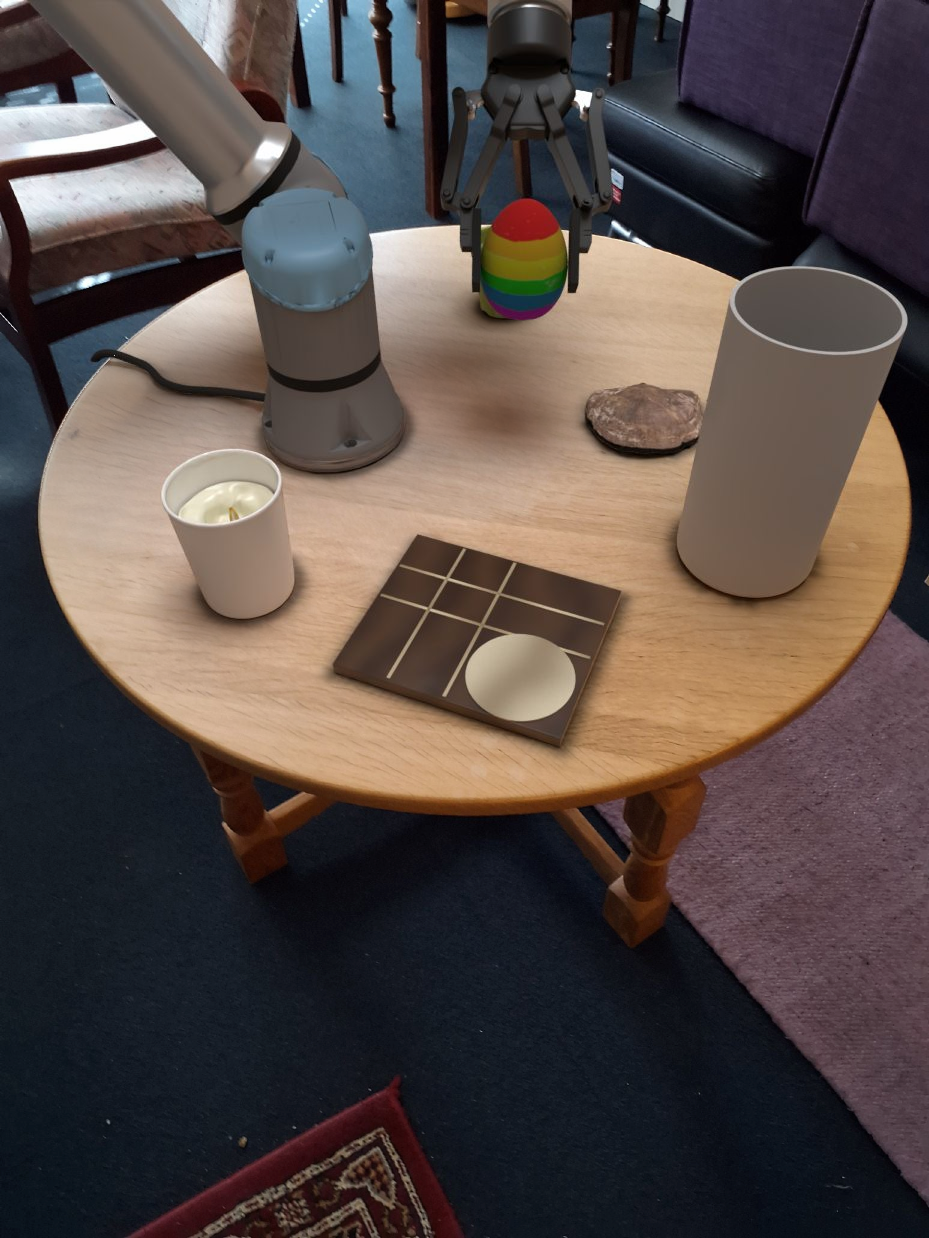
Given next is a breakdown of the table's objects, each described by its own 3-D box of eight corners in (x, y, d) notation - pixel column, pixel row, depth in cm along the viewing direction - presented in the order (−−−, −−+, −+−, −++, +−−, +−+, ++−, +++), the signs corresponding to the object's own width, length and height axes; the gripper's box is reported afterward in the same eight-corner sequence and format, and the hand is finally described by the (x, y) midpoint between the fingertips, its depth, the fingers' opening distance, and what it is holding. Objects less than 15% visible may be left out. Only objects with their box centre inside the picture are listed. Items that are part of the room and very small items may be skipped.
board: (334, 672, 75) (332, 662, 74) (418, 543, 86) (417, 532, 85) (559, 747, 70) (560, 737, 69) (620, 599, 80) (622, 589, 79)
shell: (707, 461, 93) (714, 433, 90) (585, 456, 94) (588, 428, 91) (698, 397, 101) (704, 369, 98) (585, 392, 102) (588, 365, 99)
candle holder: (318, 557, 85) (298, 456, 76) (280, 634, 78) (254, 533, 69) (221, 542, 86) (191, 441, 77) (177, 616, 80) (139, 515, 71)
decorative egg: (573, 324, 84) (583, 217, 76) (488, 332, 83) (490, 225, 75) (553, 281, 89) (560, 178, 82) (472, 289, 88) (472, 185, 81)
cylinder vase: (662, 582, 82) (716, 336, 63) (688, 497, 89) (743, 256, 71) (803, 616, 79) (903, 368, 60) (817, 525, 86) (910, 281, 68)
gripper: (408, 1, 76) (405, 273, 77) (654, 2, 76) (647, 275, 77) (415, 52, 84) (412, 299, 85) (639, 53, 83) (633, 301, 85)
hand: (524, 288), depth 81 cm, fingers closed on decorative egg, 8 cm apart
